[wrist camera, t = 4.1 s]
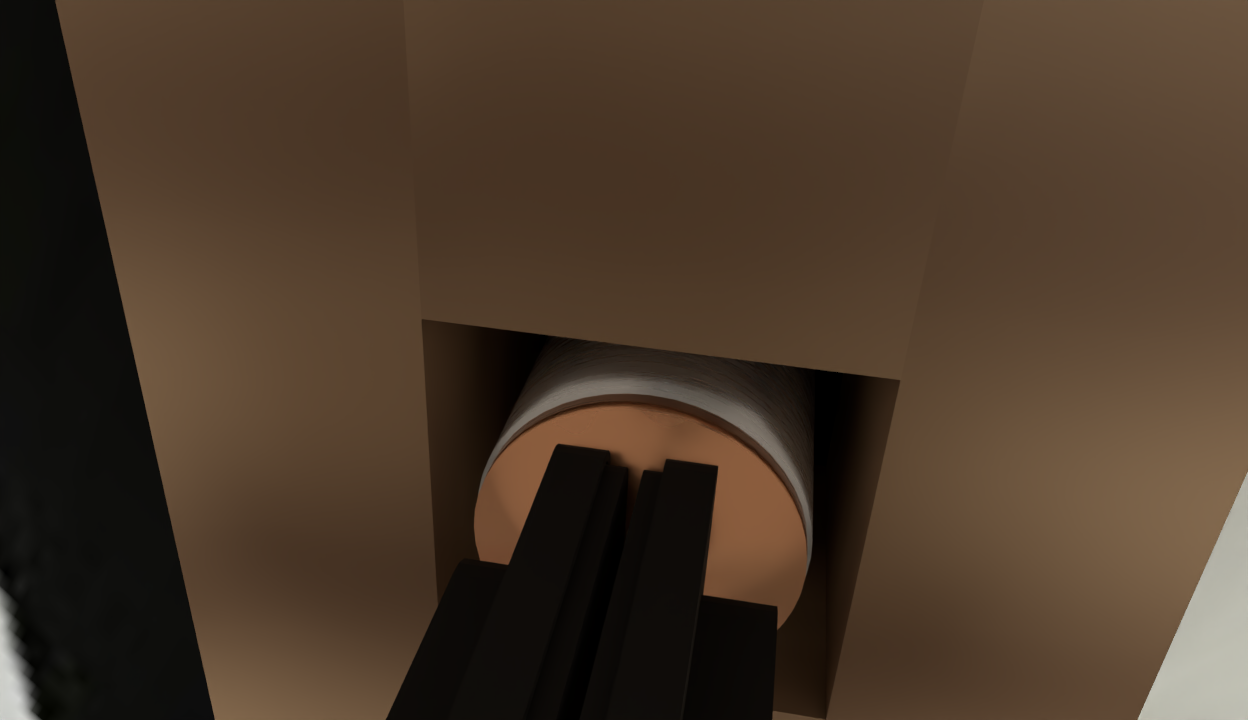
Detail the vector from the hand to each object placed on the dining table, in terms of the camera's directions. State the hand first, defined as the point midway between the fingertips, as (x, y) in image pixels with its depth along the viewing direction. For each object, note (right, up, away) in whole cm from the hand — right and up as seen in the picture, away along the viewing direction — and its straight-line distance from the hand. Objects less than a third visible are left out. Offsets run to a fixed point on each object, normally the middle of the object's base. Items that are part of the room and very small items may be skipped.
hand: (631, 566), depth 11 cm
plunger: (+1, +3, +4) cm, 5 cm away
